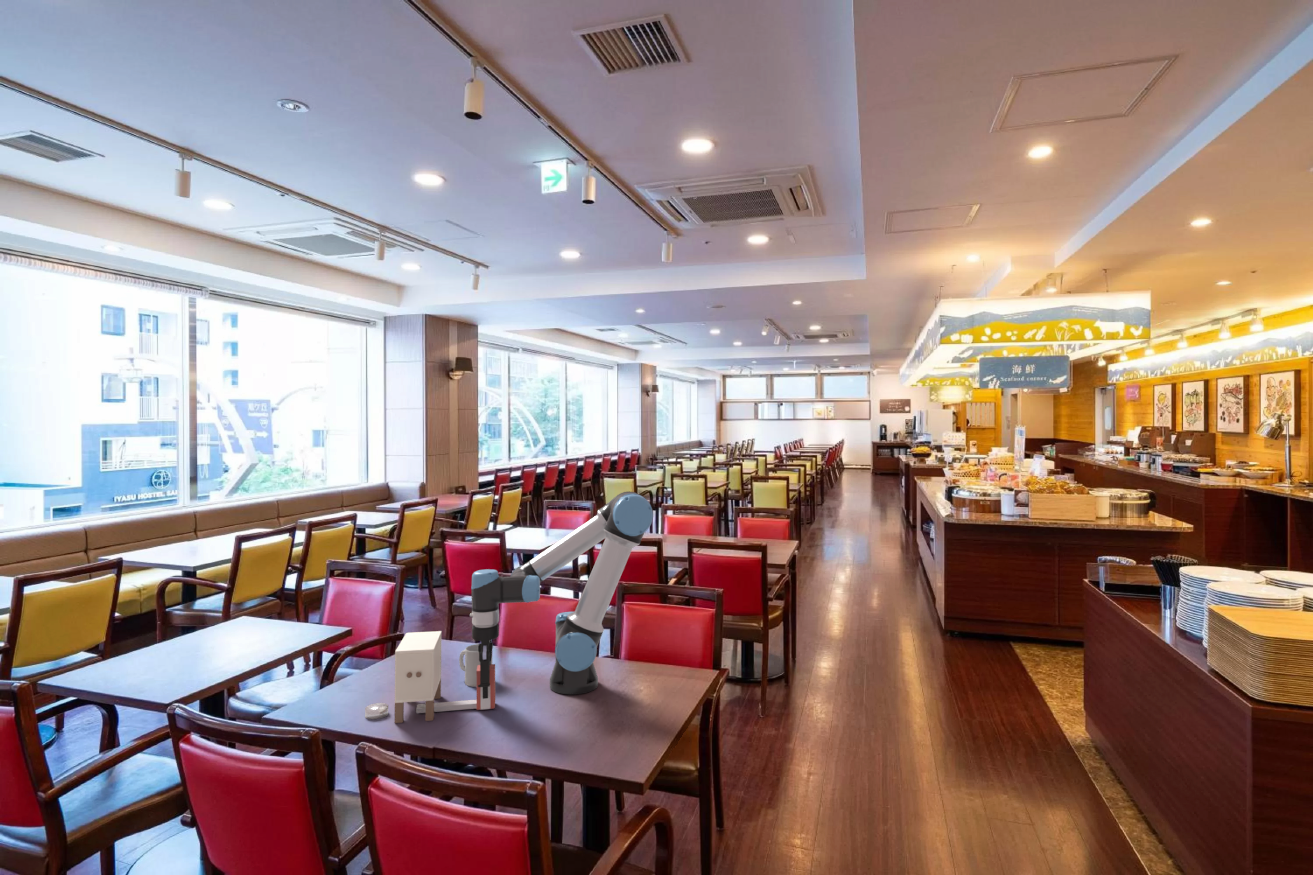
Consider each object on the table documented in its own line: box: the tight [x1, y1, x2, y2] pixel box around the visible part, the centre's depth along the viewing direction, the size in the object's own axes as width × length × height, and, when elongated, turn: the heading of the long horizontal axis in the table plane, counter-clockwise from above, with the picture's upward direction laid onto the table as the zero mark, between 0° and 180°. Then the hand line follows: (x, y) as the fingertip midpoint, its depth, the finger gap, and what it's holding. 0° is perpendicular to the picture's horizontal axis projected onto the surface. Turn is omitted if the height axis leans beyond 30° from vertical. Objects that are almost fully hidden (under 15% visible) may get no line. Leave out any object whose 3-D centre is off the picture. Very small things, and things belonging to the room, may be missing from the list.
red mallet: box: [415, 663, 496, 714], centre depth 191 cm, size 22×5×11 cm, turn 102°
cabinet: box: [394, 630, 442, 724], centre depth 190 cm, size 10×19×20 cm, turn 11°
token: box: [364, 702, 389, 720], centre depth 186 cm, size 6×6×2 cm
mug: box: [458, 643, 493, 688], centre depth 213 cm, size 12×8×11 cm
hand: (486, 704), depth 192 cm, fingers closed on red mallet, 5 cm apart
